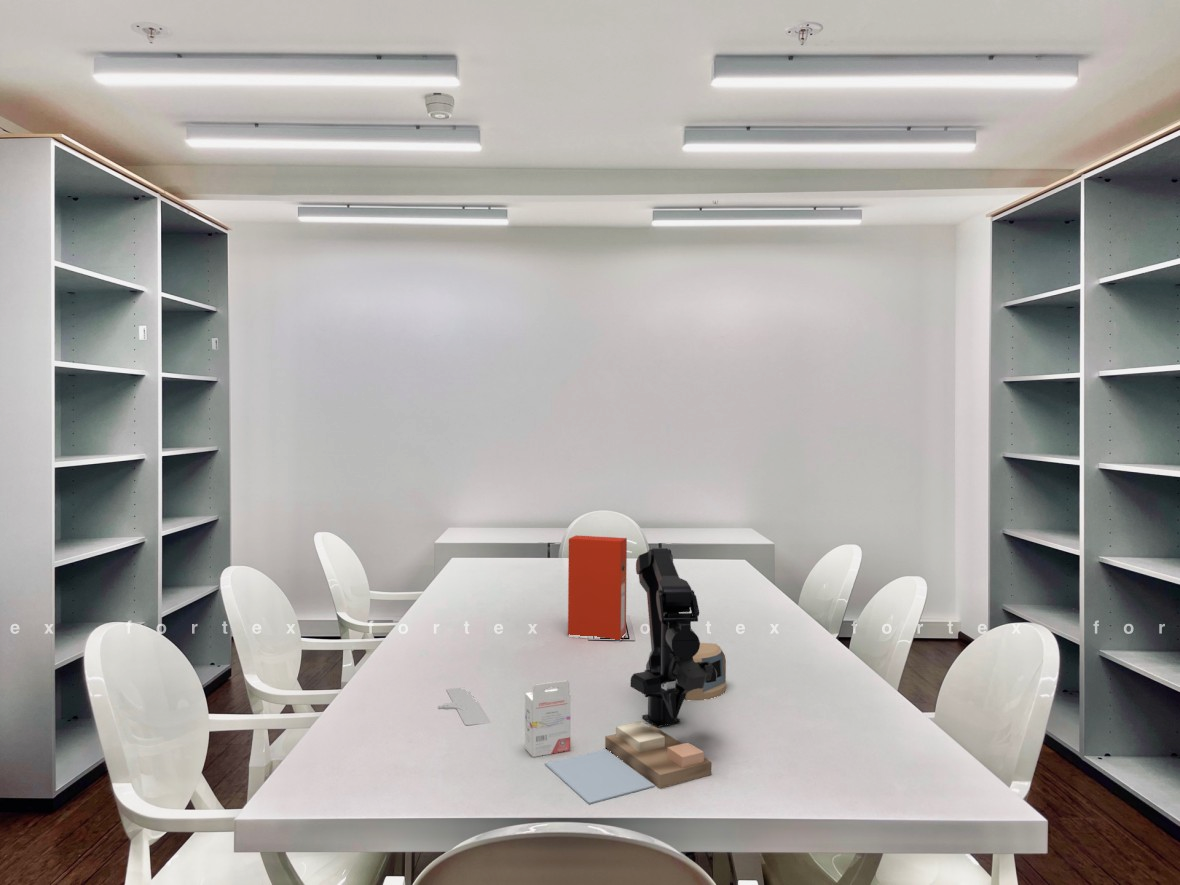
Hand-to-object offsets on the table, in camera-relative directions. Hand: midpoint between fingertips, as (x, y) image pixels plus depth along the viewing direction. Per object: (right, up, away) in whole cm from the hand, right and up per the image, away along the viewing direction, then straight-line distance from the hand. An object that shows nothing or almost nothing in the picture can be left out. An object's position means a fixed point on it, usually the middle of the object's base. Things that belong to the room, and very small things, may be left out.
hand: (673, 717), depth 157 cm
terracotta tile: (+1, -3, -13) cm, 13 cm away
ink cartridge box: (-27, -6, -3) cm, 27 cm away
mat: (-16, -6, -14) cm, 22 cm away
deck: (-4, -6, -8) cm, 11 cm away
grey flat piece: (-43, -6, +24) cm, 49 cm away
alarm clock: (+7, -6, +37) cm, 38 cm away
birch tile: (-7, -3, -4) cm, 9 cm away
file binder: (-15, -5, +84) cm, 85 cm away
